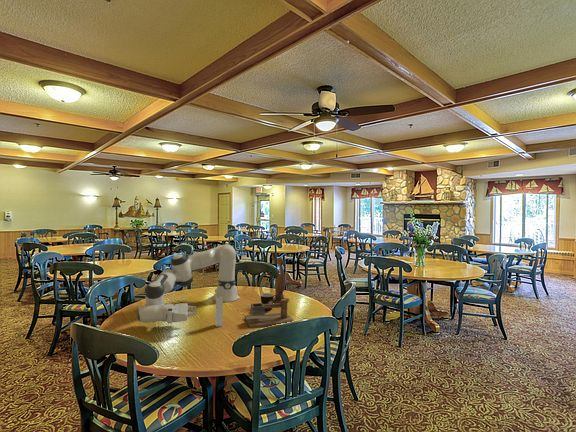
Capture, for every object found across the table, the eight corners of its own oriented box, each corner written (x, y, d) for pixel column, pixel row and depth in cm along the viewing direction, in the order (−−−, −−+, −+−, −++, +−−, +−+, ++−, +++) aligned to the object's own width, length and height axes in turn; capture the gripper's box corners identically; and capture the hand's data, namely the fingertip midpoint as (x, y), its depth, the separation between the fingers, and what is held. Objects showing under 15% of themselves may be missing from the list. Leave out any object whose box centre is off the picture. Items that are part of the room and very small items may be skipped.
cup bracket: (244, 318, 197) (245, 298, 197) (286, 315, 205) (286, 295, 204) (249, 328, 182) (250, 306, 181) (294, 324, 189) (294, 303, 189)
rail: (215, 324, 186) (215, 296, 185) (221, 324, 187) (222, 296, 186) (215, 326, 182) (216, 298, 182) (222, 326, 183) (222, 297, 183)
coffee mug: (261, 312, 208) (261, 297, 208) (259, 308, 216) (259, 293, 216) (279, 311, 211) (279, 296, 211) (276, 307, 220) (276, 292, 219)
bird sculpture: (284, 306, 224) (286, 259, 223) (268, 303, 228) (270, 257, 227) (289, 301, 235) (292, 257, 234) (274, 299, 239) (276, 255, 238)
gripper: (170, 312, 187) (195, 310, 191) (168, 324, 167) (196, 322, 171) (170, 301, 187) (196, 299, 191) (168, 312, 167) (197, 310, 171)
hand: (196, 310), depth 181 cm, fingers open, 8 cm apart
